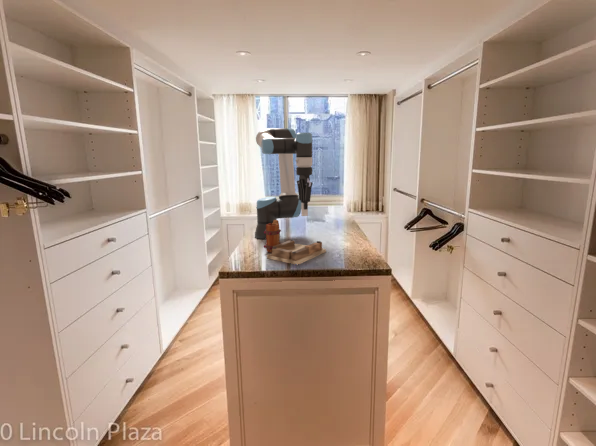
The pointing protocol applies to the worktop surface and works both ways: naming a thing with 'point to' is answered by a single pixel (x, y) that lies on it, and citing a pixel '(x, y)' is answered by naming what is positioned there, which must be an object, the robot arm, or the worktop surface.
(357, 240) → the worktop surface
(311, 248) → the leg
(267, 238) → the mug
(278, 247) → the seat
